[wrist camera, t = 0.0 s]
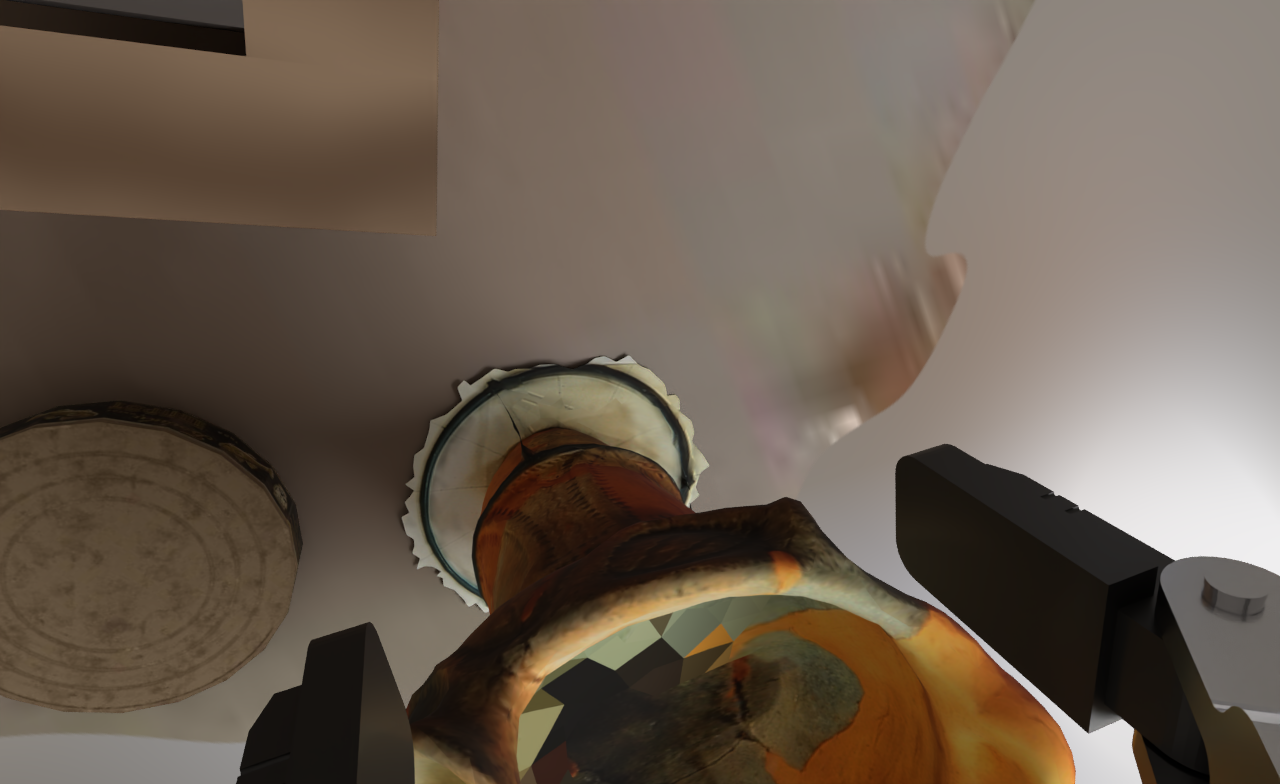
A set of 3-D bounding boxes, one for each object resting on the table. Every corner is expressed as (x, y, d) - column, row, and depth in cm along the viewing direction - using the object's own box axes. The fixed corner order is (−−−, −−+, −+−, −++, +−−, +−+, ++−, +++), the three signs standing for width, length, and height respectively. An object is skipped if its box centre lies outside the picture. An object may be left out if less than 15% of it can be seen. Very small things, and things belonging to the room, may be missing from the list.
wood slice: (-91, 390, 32) (-136, 415, 29) (305, 405, 37) (298, 427, 34) (-43, 685, 37) (-78, 730, 34) (301, 660, 42) (295, 697, 39)
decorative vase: (314, 331, 35) (233, 826, 11) (733, 313, 43) (1231, 575, 19) (351, 673, 42) (352, 1437, 18) (704, 604, 50) (1038, 1066, 26)
